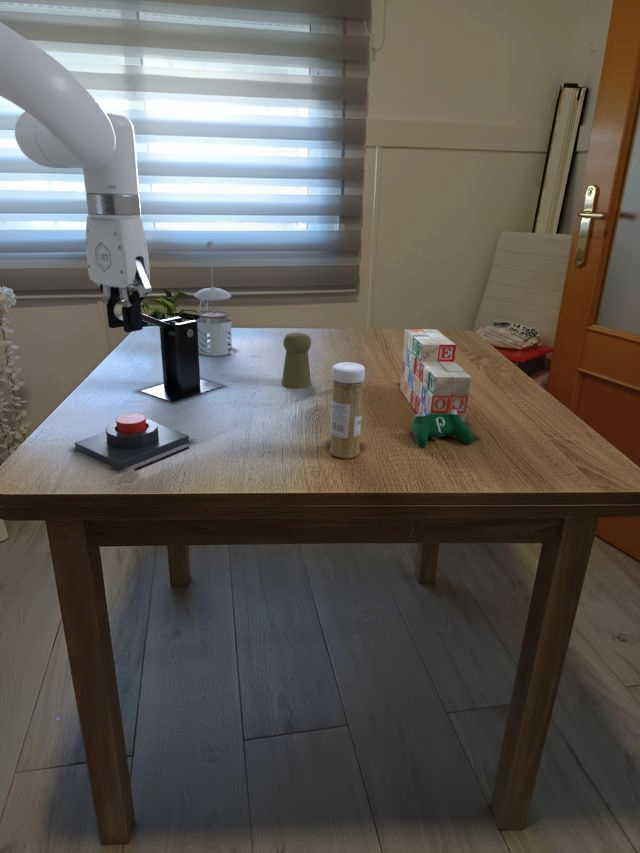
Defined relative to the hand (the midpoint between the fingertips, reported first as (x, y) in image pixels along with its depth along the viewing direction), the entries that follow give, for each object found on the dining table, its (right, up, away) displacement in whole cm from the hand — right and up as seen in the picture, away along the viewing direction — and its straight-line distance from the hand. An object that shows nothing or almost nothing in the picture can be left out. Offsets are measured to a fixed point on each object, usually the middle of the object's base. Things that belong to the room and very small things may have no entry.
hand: (125, 327), depth 93 cm
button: (+5, -17, -11) cm, 21 cm away
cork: (+27, -9, +19) cm, 34 cm away
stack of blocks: (+51, -13, +11) cm, 54 cm away
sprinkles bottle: (+35, -20, -7) cm, 41 cm away
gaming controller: (+50, -18, -2) cm, 54 cm away
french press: (+7, 0, +39) cm, 40 cm away
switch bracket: (+6, -10, +14) cm, 18 cm away
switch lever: (+3, 0, +4) cm, 5 cm away
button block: (+5, -20, -10) cm, 23 cm away
